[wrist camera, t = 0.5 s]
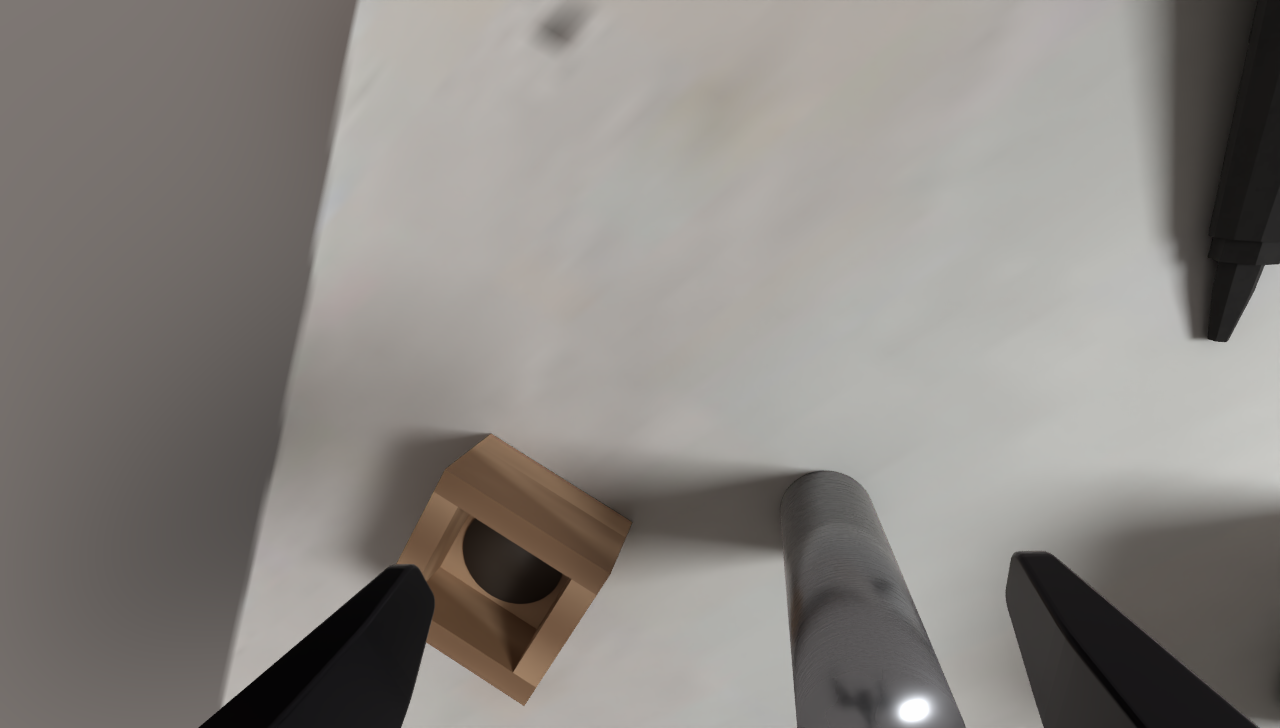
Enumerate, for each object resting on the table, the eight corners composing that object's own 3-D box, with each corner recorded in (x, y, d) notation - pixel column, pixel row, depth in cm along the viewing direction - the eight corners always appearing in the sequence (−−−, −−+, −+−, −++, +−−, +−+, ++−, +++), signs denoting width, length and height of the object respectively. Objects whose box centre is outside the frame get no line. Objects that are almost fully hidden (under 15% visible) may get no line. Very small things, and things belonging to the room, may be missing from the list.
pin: (839, 570, 28) (901, 833, 16) (762, 522, 28) (767, 747, 16) (892, 502, 26) (1004, 730, 14) (813, 454, 27) (858, 639, 15)
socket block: (556, 639, 31) (524, 706, 27) (425, 556, 32) (373, 607, 27) (632, 522, 29) (610, 574, 25) (491, 433, 29) (445, 469, 25)
